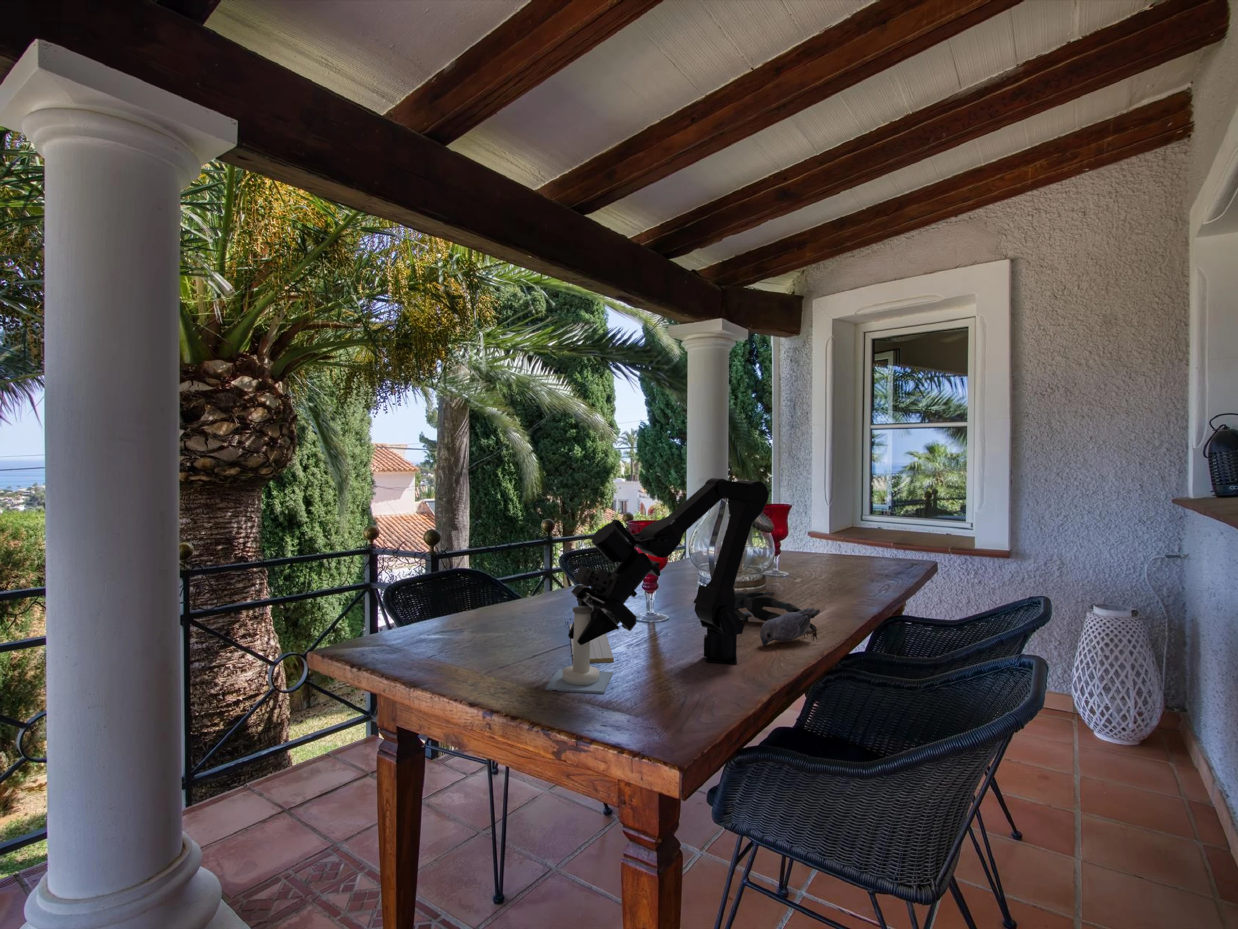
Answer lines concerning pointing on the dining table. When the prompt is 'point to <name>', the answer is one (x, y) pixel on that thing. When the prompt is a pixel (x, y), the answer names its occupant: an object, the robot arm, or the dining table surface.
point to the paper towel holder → (581, 652)
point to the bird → (787, 627)
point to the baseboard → (598, 649)
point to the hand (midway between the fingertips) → (574, 640)
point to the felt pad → (597, 687)
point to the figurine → (757, 602)
